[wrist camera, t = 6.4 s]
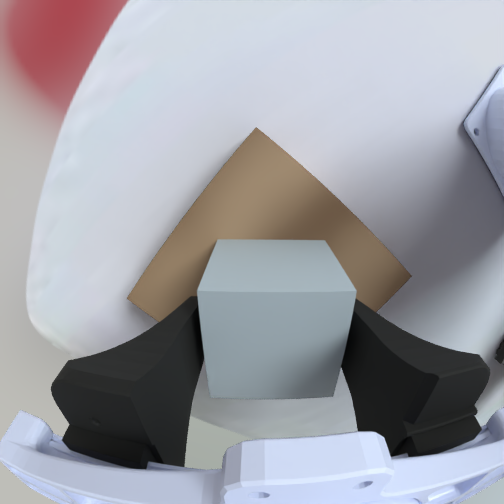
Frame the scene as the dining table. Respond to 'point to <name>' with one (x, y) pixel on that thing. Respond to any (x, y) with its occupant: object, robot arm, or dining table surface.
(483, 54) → the dining table surface
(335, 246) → the plinth
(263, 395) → the block
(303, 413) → the dining table surface
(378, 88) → the dining table surface
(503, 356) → the figurine
